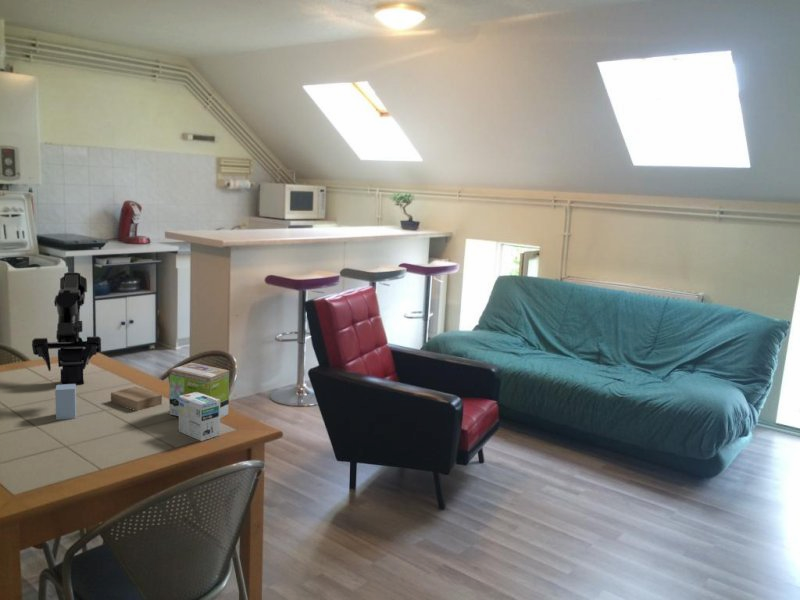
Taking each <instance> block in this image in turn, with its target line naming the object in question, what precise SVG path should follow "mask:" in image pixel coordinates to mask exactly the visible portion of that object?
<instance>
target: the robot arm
mask: <svg viewBox="0 0 800 600" xmlns="http://www.w3.org/2000/svg"><path fill="white" fill-rule="evenodd" d="M59 288H60V289H59V290H58V293H57V295H55V297H54V306H55V307H56V311H57V315H58V319H57V320H58V321H57V327H56V328H57V330H56V337H55V338H56V340H57V341H48V338H47V337H34V338H33V339H32V341H31V346H32V347H31V348H32V353H33V355H35V356H37V357H39V358H42V359H43V360H44V361H43V362H45V364H46V367H47V369H48V372H51V370H52V369H51V368H52V366H51V360H50V359H51V357H50V352H49V350H52V349H57V361H58V368H60V383H61V384H62V385H63V384H76V385H84V384H85V380H84V370H85V369H86V368H87V366H88V365H89V362H90V360H91V359H92V357H93V356H96V355H97V354H98V353H101V352H102V338H101V337H100V335H99V336H96V335H95V336H87V337H86V340H84V341H83V339H82V337H80V333H83V320H80V317H81V315H80V314H81V307H83V306H84V305H85V300H86V293H87V292H88V281H87V278H86V277H84V276H82V275H81V272H65V273H64V274H63V276H62V277H60V279H59Z"/></svg>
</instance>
